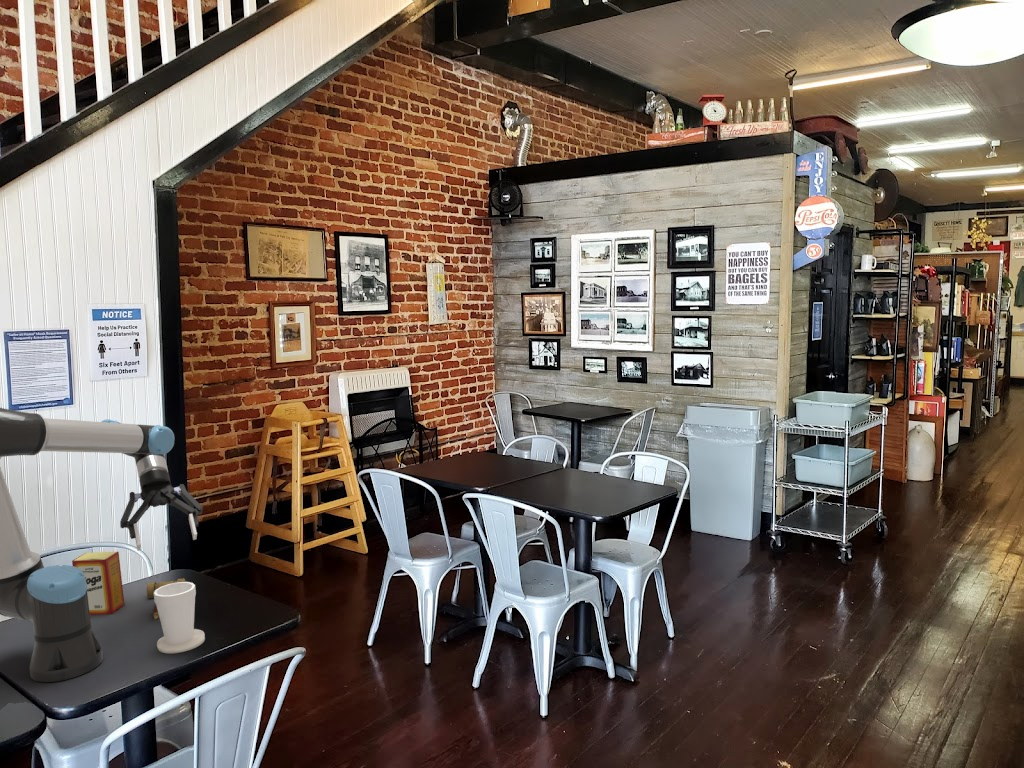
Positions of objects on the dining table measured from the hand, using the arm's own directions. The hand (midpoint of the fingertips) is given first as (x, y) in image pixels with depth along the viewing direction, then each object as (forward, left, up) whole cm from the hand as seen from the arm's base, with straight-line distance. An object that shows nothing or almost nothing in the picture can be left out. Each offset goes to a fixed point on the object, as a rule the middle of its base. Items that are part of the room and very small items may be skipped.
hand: (167, 542), depth 204 cm
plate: (-7, -11, -22) cm, 26 cm away
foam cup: (-7, -11, -21) cm, 25 cm away
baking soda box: (-2, +29, -23) cm, 37 cm away
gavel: (+7, +15, -23) cm, 28 cm away
